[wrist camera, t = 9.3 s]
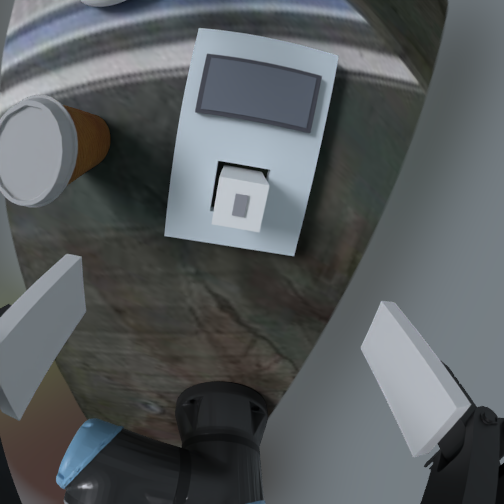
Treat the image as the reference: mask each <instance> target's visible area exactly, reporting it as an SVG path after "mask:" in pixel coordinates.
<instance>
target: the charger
mask: <svg viewBox="0 0 504 504" xmlns="http://www.w3.org/2000/svg"><path fill="white" fill-rule="evenodd" d="M268 190H269V184H268V182H267V180H266V178H265V177H264V175H263V173H262V172H261V171H255V170H250V169H245V168H239V167H233V166H228V165H224V166H223V169H222V171H221V174H220V177H219V182H218V188H217V194H216V200H215V206H214V212H213V218H212V224H213V225H219V226H225V227H231V228H236V229H242V230H248V231H254V232H260V227H261V223H262V218H263V213H264V209H265V204H266V200H267V195H268Z"/></svg>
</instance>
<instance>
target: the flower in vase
mask: <svg viewBox="0 0 504 504" xmlns="http://www.w3.org/2000/svg"><path fill="white" fill-rule="evenodd" d="M80 1H81V2H82V3H84V4H86V5H89V6H94V7H105V6H111V5H115V4H118V3H121V2H123V1H126V0H80Z"/></svg>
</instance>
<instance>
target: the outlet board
mask: <svg viewBox="0 0 504 504" xmlns="http://www.w3.org/2000/svg"><path fill="white" fill-rule="evenodd" d="M207 54H215V55H223V56H230V57H237V58H243V59H249V60H255V61H260V62H266V63H271V64H275V65H280V66H285V67H289V68H293V69H297V70H301V71H305V72H309V73H313V74H316V75H320V76H322V79H321V84H320V89H319V94H318V99H317V104H316V109H315V114H314V118H313V123H312V128H311V133H305V132H301V131H296V130H292V129H288V128H283V127H278V126H273V125H269V124H263V123H258V122H253V121H247V120H242V119H236V118H230V117H223V116H216V115H209V114H202V113H195V109H196V104H197V98H198V93H199V88H200V84H201V79H202V74H203V69H204V65H205V60H206V56H207ZM338 57H339V56H337V55H334V54H331V53H328V52H324V51H321V50H317V49H314V48H310V47H306V46H303V45H299V44H294V43H290V42H286V41H281V40H277V39H272V38H267V37H262V36H256V35H250V34H244V33H238V32H231V31H223V30H214V29H204V28H199V30H198V34H197V38H196V43H195V47H194V51H193V55H192V60H191V64H190V69H189V73H188V78H187V83H186V88H185V93H184V98H183V103H182V109H181V114H180V120H179V126H178V132H177V138H176V144H175V151H174V158H173V165H172V172H171V180H170V188H169V196H168V205H167V215H166V225H165V236H168V237H175V238H181V239H188V240H194V241H200V242H207V243H213V244H220V245H226V246H232V247H239V248H245V249H251V250H258V251H264V252H270V253H277V254H283V255H289V256H294V254H295V250H296V246H297V242H298V239H299V235H300V231H301V227H302V223H303V219H304V215H305V211H306V207H307V202H308V198H309V194H310V190H311V186H312V181H313V177H314V173H315V168H316V164H317V160H318V155H319V151H320V146H321V142H322V137H323V132H324V128H325V123H326V118H327V114H328V109H329V104H330V99H331V94H332V89H333V84H334V78H335V73H336V68H337V63H338ZM219 161H223V162H229V163H235V164H241V165H247V166H252V167H258V168H263V169H268V172H267V177H266V180H267V182H268V184H269V190H268V195H267V200H266V204H265V209H264V213H263V218H262V223H261V227H260V232H254V231H248V230H242V229H236V228H231V227H225V226H219V225H213V224H212V218H213V212H214V207H212V206H211V205H212V199H213V192H214V186H215V180H216V174H217V168H218V163H219Z"/></svg>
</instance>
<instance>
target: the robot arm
mask: <svg viewBox="0 0 504 504" xmlns="http://www.w3.org/2000/svg"><path fill="white" fill-rule="evenodd" d="M85 312H86V306H85V296H84V285H83V271H82V257H80V256H75V255H70V254H66V255H65V256H64V257H63V258H62V259H60V260H59V261H58V262H57V263H56V264H55V265H54V266H53V267H51V268H50V269H49V270H48V271H47V272H46V273H45V274H44V275H43V276H42V277H41V278H39V279H38V280H37V281H36V282H35V283H34V284H33V285H32V286H31V287H30V288H29V289H28V290H27V291H26V292H25V293H24V294H23V295H22V296H21V297H20V298H19V299H18V300H17V301H16V302H15V303H14V304H13V305H9V304H8V305H6V306H4V307H2V308H0V409H1V410H2V412H3V413H5V414H7V415H9V416H11V417H13V418H15V419H17V420H20V419H21V417H22V415H23V413H24V411H25V409H26V408H27V406H28V404H29V402H30V400H31V399H32V397H33V395H34V393H35V391H36V390H37V388H38V386H39V384H40V383H41V381H42V379H43V378H44V376H45V374H46V372H47V371H48V369H49V368H50V366H51V364H52V363H53V361H54V359H55V358H56V356H57V355H58V353H59V352H60V350H61V348H62V347H63V345H64V344H65V342H66V341H67V339H68V338H69V336H70V335H71V333H72V332H73V330H74V329H75V327H76V326H77V324H78V323H79V321H80V320H81V318H82V317H83V315H84V314H85ZM361 350H362V352H363V354H364V356H365V358H366V360H367V362H368V364H369V366H370V368H371V370H372V372H373V374H374V376H375V378H376V380H377V382H378V384H379V386H380V388H381V390H382V392H383V394H384V396H385V397H386V400H387V402H388V404H389V406H390V408H391V410H392V413H393V415H394V417H395V419H396V421H397V423H398V425H399V427H400V429H401V432H402V434H403V436H404V438H405V440H406V443H407V445H408V447H409V449H410V451H411V454H412V456H413V457H416V456H420V455H424V454H427V453H429V452H430V451H431V450H432V449H433V448H434V447H435V446H436V445H437V444H438V445H439V447H440V450H439V451H438V452H437V453H436V454H435V455H434V456H433V457H432V458H431V459H430V460H429V461H427V462H426V464H425V465H424V467H427V466H428V465H429V464H430V463H431V462H433V465H432V466H431V467H430V468H429V469H431V473H430V476H429V480H428V483H427V486H426V489H425V492H424V495H423V498H422V501H421V504H504V463H503V464H502V465H500V461H499V460H500V459H501V458H502V457H503V456H504V418H498V417H497V415H496V414H495V413H494V412H493V411H492V410H491V409H489V408H488V407H484V406H481V407H478V408H477V407H476V405H475V404H474V403H473V401H472V400H471V398H470V397H469V395H468V394H467V393H466V391H465V389H464V388H463V387H462V385H461V384H459V381H458V380H457V378H456V377H454V374H453V373H452V371H451V370H450V369H449V367H448V366H447V365H445V364H444V363H443V362H442V361H441V360H440V359H439V358H438V357H437V356H436V354H435V353H434V352H433V350H432V349H431V348H430V346H429V345H428V344H427V342H426V341H425V340H424V339H423V337H422V336H421V335H420V333H419V332H418V331H417V330H416V328H415V327H414V326H413V324H412V323H411V322H410V321H409V320H408V318H407V317H406V316H405V315H404V313H403V312H402V311H401V310H400V308H399V307H398V306H397V305H396V304H395V302H388V301H381V303H380V306H379V308H378V310H377V312H376V315H375V317H374V319H373V322H372V324H371V326H370V329H369V331H368V333H367V335H366V337H365V339H364V342H363V344H362V346H361ZM175 417H176V421H177V425H178V429H179V433H180V437H181V441H182V448H180V447H177V446H174V445H170V444H167V443H164V442H161V441H158V440H155V439H152V438H149V437H146V436H143V435H140V434H137V433H135V432H132V431H129V430H127V429H124V427H123V426H116V425H114V424H111V423H108V422H105V421H103V420H100V419H95V418H94V419H89V420H87V421H86V422H85V423H83V425H82V426H81V427H80V429H79V430H78V432H77V433H76V435H75V436H74V438H73V440H72V442H71V444H70V445H69V447H68V449H67V451H66V453H65V456H64V458H63V460H62V462H61V465H60V468H59V472H58V475H57V477H56V482H57V484H58V485H60V486H61V488H63V489H66V493H65V497H64V502H65V504H265V501H264V495H263V485H262V474H261V463H260V451H259V446H260V443H261V440H262V436H263V433H264V430H265V427H266V423H267V419H268V414H267V405H266V402H265V400H264V399H263V398H262V396H261V395H260V394H258V393H257V392H256V391H254V390H252V389H250V388H248V387H246V386H243V385H239V384H235V383H230V382H207V383H201V384H197V385H194V386H192V387H190V388H188V389H186V390H185V391H184V392H182V393H181V395H180V396H179V397H178V400H177V404H176V410H175ZM0 504H22V503H21V500H20V498H19V495H18V493H17V490H16V487H15V485H14V482H13V479H12V476H11V473H10V470H9V467H8V464H7V460H6V457H5V453H4V450H3V446H2V442H1V438H0Z"/></svg>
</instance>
